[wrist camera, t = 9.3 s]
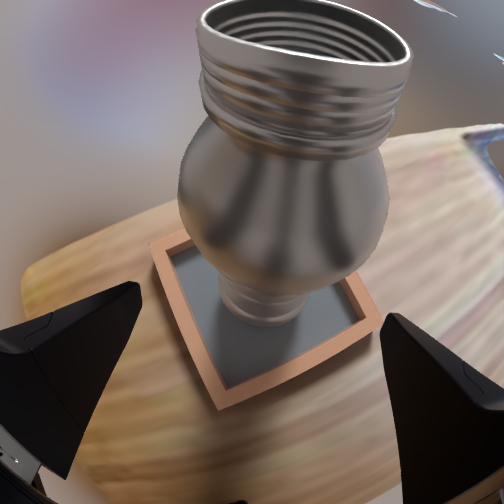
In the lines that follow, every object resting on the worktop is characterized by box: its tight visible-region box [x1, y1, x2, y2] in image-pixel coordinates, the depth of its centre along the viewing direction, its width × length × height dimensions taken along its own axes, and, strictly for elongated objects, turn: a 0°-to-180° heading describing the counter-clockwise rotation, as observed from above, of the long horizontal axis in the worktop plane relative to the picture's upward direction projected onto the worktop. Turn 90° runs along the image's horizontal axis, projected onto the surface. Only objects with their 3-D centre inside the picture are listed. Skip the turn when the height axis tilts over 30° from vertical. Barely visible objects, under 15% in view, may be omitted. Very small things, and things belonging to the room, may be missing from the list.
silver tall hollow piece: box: [177, 0, 414, 327], centre depth 12 cm, size 6×7×20 cm
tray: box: [149, 228, 384, 411], centre depth 22 cm, size 14×14×2 cm
